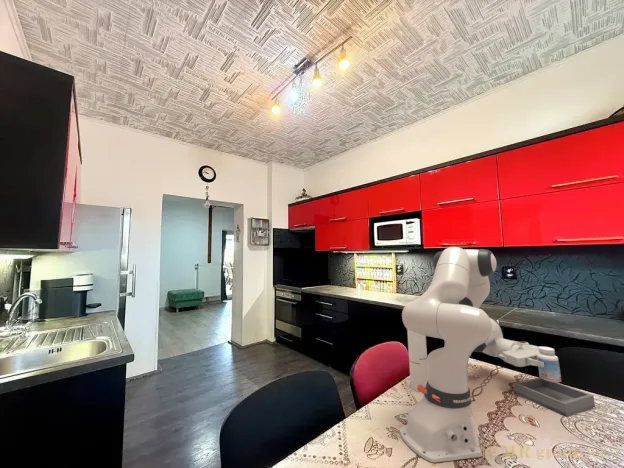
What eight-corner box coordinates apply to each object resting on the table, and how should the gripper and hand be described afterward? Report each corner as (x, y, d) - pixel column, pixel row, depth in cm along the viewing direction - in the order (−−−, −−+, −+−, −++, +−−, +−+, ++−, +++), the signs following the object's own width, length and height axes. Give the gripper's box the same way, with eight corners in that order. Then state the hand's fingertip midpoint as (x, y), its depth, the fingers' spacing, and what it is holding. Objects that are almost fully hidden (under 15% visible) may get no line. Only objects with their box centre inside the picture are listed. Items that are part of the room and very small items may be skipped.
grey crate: (566, 416, 85) (564, 404, 85) (515, 394, 100) (514, 383, 100) (595, 407, 90) (593, 395, 90) (542, 387, 105) (540, 376, 105)
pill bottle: (566, 383, 92) (561, 351, 93) (546, 382, 93) (542, 350, 95) (553, 376, 98) (549, 346, 99) (535, 375, 99) (531, 345, 100)
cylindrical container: (432, 392, 102) (427, 327, 105) (414, 392, 102) (410, 328, 105) (424, 383, 109) (420, 323, 112) (408, 384, 109) (404, 324, 112)
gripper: (493, 347, 106) (531, 358, 93) (527, 341, 112) (566, 351, 99) (495, 362, 105) (533, 376, 92) (528, 356, 111) (569, 368, 98)
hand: (551, 363), depth 95 cm, fingers closed on pill bottle, 6 cm apart
